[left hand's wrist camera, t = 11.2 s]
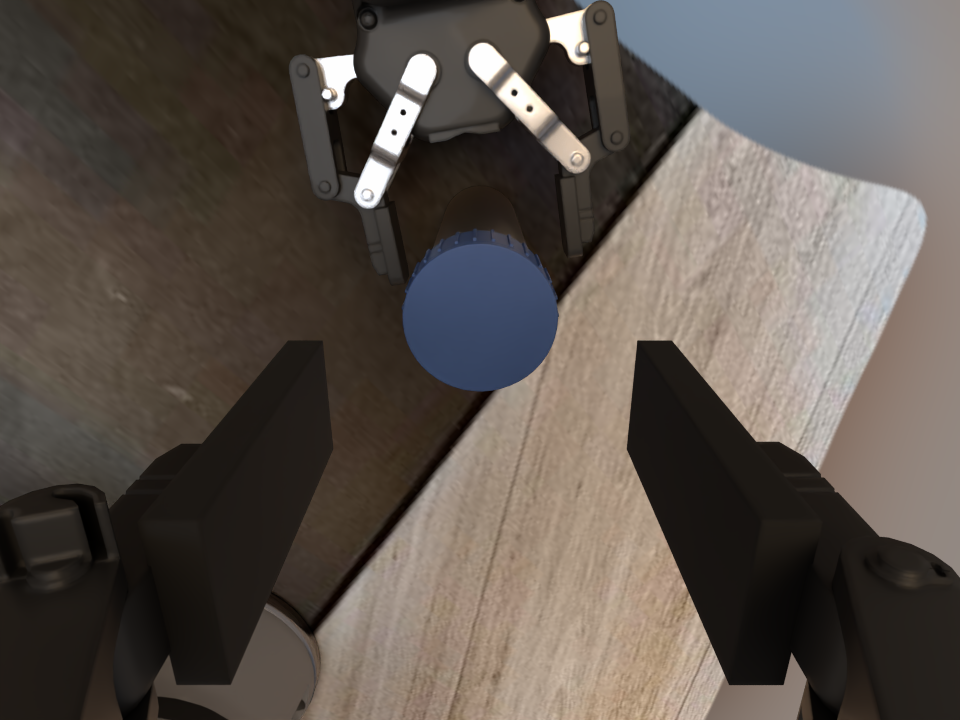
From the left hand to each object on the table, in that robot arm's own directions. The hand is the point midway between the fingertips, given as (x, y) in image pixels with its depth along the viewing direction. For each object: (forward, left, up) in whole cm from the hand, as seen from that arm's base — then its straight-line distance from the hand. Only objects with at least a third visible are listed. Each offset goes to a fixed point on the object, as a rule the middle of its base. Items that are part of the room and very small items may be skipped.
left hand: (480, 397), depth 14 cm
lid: (0, 0, -6) cm, 6 cm away
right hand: (-1, 0, -17) cm, 17 cm away
